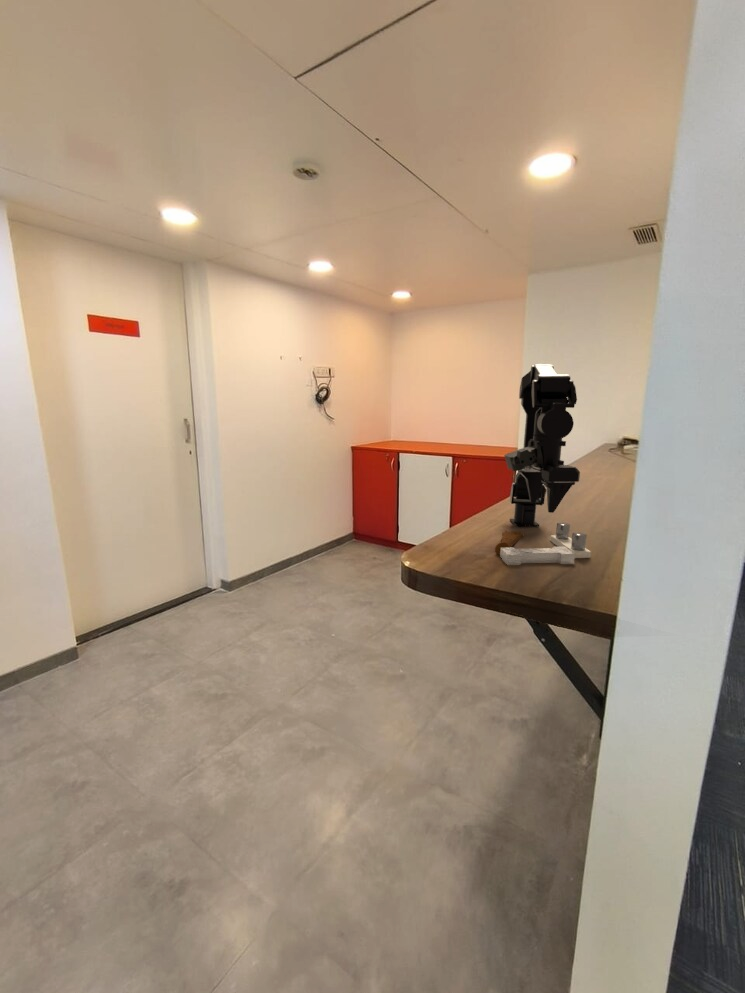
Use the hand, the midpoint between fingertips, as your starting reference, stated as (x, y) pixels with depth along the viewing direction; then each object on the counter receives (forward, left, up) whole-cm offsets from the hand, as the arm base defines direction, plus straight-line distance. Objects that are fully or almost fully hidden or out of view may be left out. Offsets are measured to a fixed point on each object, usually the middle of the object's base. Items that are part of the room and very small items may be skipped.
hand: (541, 507), depth 97 cm
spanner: (0, 0, -13) cm, 13 cm away
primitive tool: (-12, -3, -13) cm, 18 cm away
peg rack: (-7, +11, -12) cm, 18 cm away
